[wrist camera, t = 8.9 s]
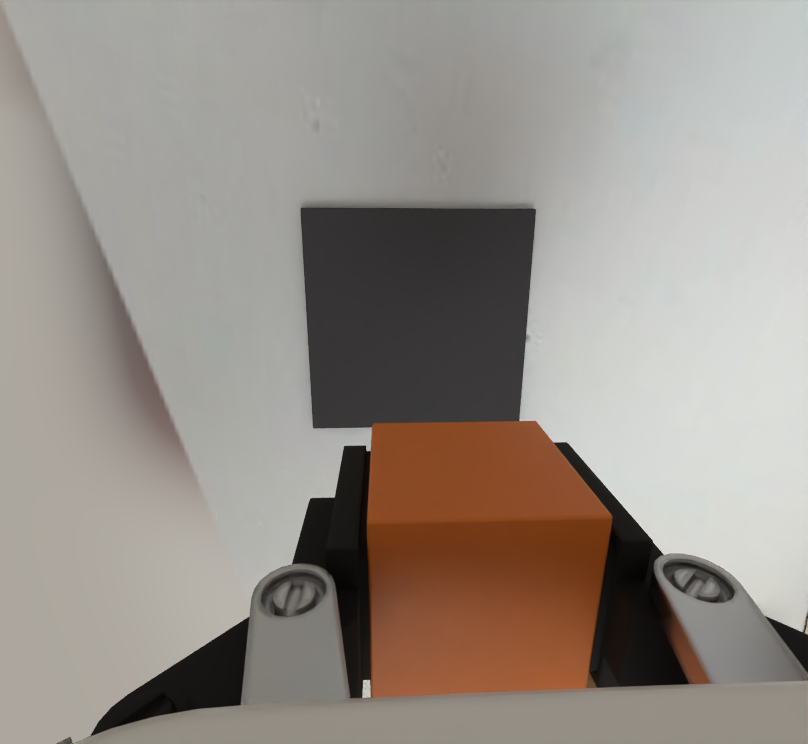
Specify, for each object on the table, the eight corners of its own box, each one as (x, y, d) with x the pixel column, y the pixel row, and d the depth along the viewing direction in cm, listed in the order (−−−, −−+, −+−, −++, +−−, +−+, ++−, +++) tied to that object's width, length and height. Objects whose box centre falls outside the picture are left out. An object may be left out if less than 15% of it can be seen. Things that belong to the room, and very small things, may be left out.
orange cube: (374, 561, 12) (371, 710, 8) (372, 421, 11) (366, 522, 7) (523, 557, 12) (585, 702, 9) (536, 419, 11) (614, 516, 7)
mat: (314, 425, 23) (313, 428, 22) (301, 208, 20) (300, 207, 19) (516, 422, 23) (519, 425, 23) (533, 209, 20) (536, 209, 20)
